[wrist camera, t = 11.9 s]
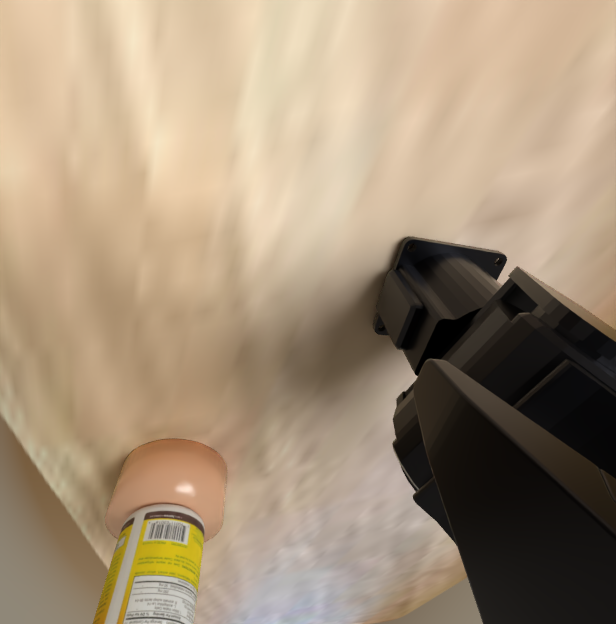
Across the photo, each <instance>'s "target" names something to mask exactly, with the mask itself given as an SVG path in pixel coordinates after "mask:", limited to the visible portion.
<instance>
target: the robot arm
mask: <svg viewBox="0 0 616 624" xmlns="http://www.w3.org/2000/svg"><path fill="white" fill-rule="evenodd" d="M413 243H414V246H413V248H411V249H408V246H409V245H410V244H413ZM497 258H499V260H498V261H497V262H496V263H494V261H495V260H496V259H497ZM506 261H507V257H506V256H505V255H504V254H503V253H501V252H499V251H494V250H488V249H482V248H476V247H470V246H465V245H459V244H453V243H447V242H441V241H435V240H429V239H423V238H418V237H408V238H406V239H405V240H403V242H402V244H401V247H400V250H399V252H398V255H397V258H396V261H395V264H394V266H393V269H392V270H391V271H389V272H388V274H387V277H386V280H385V282H384V285H383V288H382V291H381V294H380V297H379V300H378V302H377V305H376V309H377V311H378V312H377V314H376V317H375V320H374V323H373V328H374V330H375V332H376V333H377V334H380V335H388V336H390V337H391V339H392V341H393V343H394V345H395V347H396V348H397V349H398V350H403V352H404V354H405V355H406V357H407V359H408V361H409V363H410V365H411V367H412V369H413V371H414V373H415V375H417V376H418V377H417V379H416V381H415V382H414V383H413V384H412V385H411V386H410V387H409V389H408V390H407V391H406V392H404V391H403V392H402V393H401V394H400V395H399V397H398V398H397V407H396V410H395V413H394V417H393V422H394V429H395V435H396V439H395V440H394V441H393V449H394V452H395V454H396V456H397V459H398V461H399V463H400V465H401V468H402V470H403V472H404V474H405V476H406V478H407V480H408V481H409V483H410V484H411V485H412V487H413V488H414V490H415V491H416V493H415V494H414V495H413V499H414V501H415V502H416V503H417V504H418V505H419V506H420V507H421V508H422V509H423V510H424V511H426V512H427V513H428V514H429V515H430V516H431V517H432V518H433V519H435V520H436V521H437V523H438V524H439V525H440V526H441V527H442V528H443V529H444V531H445V532H446V533H447V534H448V535H449V536H450V538H451V539H452V540H453V541H454V542H455V544H456V545H457V547H458V550H459V553H460V556H461V559H462V562H463V565H464V568H465V571H466V574H467V577H468V580H469V583H470V586H471V589H472V592H473V595H474V598H475V601H476V604H477V607H478V609H479V613H480V616H481V619H482V622H483V624H616V330H615V329H613V328H612V327H610V326H609V325H607V324H606V323H605V322H603V321H602V320H600V319H599V318H597V317H596V316H595V315H593V314H592V313H590V312H589V311H587V310H586V309H585V308H583V307H582V306H580V305H578V304H577V303H575V302H574V301H572V300H571V299H569V298H567V297H566V296H564V295H563V294H561V293H559V292H558V291H556V290H555V289H553V288H551V287H550V286H548V285H547V284H545V283H544V282H542V281H540V280H539V279H537V278H536V277H534V276H532V275H531V274H529V273H528V272H526V271H524V270H523V269H521V268H520V267H518V266H517V267H516V268H515V269H514V270H513V271H512V272H511V273H510V275H509V277H510V278H509V279H508V280H507V281H506V282H505V284H504V285H503V286H502V285H501V284H500V283H499V282H497V279H498V277H499V275H500V273H501V271H502V269H503V268H504V266H505V264H506ZM381 325H384V326H383V327H382V328H379V326H381Z"/></svg>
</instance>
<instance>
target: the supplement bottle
mask: <svg viewBox="0 0 616 624" xmlns="http://www.w3.org/2000/svg"><path fill="white" fill-rule="evenodd" d="M204 533H205V527H204V523H203V520H202V519H201V517H200V516H199V515H198V514H197V513H196V512H194V511H193V510H191V509H189V508H186V507H183V506H180V505H174V504H157V505H151V506H147V507H144V508H141V509H139V510H137V511H136V512H134V513H132V514H131V515H130V516H129V517H128V518H127V519H126V521H125V522H124V524H123V526H122V529H121V532H120V535H119V539H118V542H117V545H116V548H115V552H114V555H113V559H112V562H111V565H110V569H109V572H108V575H107V578H106V581H105V585H104V588H103V591H102V595H101V598H100V601H99V605H98V608H97V611H96V615H95V618H94V621H93V624H194V617H195V610H196V600H197V592H198V584H199V576H200V567H201V559H202V550H203V542H204Z"/></svg>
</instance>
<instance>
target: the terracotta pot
mask: <svg viewBox="0 0 616 624" xmlns="http://www.w3.org/2000/svg"><path fill="white" fill-rule="evenodd" d="M226 479H227V466H226V463H225V461H224V460H223V458H222V457H221V456H220V455H219V454H218V453H217V452H216V451H214V450H213V449H211V448H210V447H208V446H206V445H203V444H200V443H198V442H194V441H189V440H182V439H164V440H158V441H153V442H150V443H147V444H144V445H142V446H140V447H138V448H137V449H135V450H134V451H132V452H131V453H130V454H129V455H128V457H127V458H126V460H125V462H124V465H123V468H122V470H121V473H120V476H119V479H118V482H117V484H116V487H115V490H114V493H113V496H112V498H111V501H110V504H109V507H108V510H107V512H106V516H105V523H106V527H107V528H108V530H109V531H110V533H111V534H112V535H113V536H114V537H116V538H117V539H119V535H120V532H121V529H122V526H123V524H124V522H125V521H126V519H127V518H128V517H129V516H130V515H131V514H132V513H134V512H136V511H137V510H139V509H141V508H144V507H147V506H151V505H157V504H174V505H180V506H183V507H186V508H189V509H191V510H193V511H194V512H196V513H197V514H198V515H199V516H200V517H201V519H202V520H203V523H204V527H205V533H204V542H206V541H208V540H210V539H211V538H213V537H214V536H215V535H216V534H217V533H218V532H219V530H220V529H221V527H222V523H223V513H224V502H225V491H226ZM204 542H203V543H204Z"/></svg>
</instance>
